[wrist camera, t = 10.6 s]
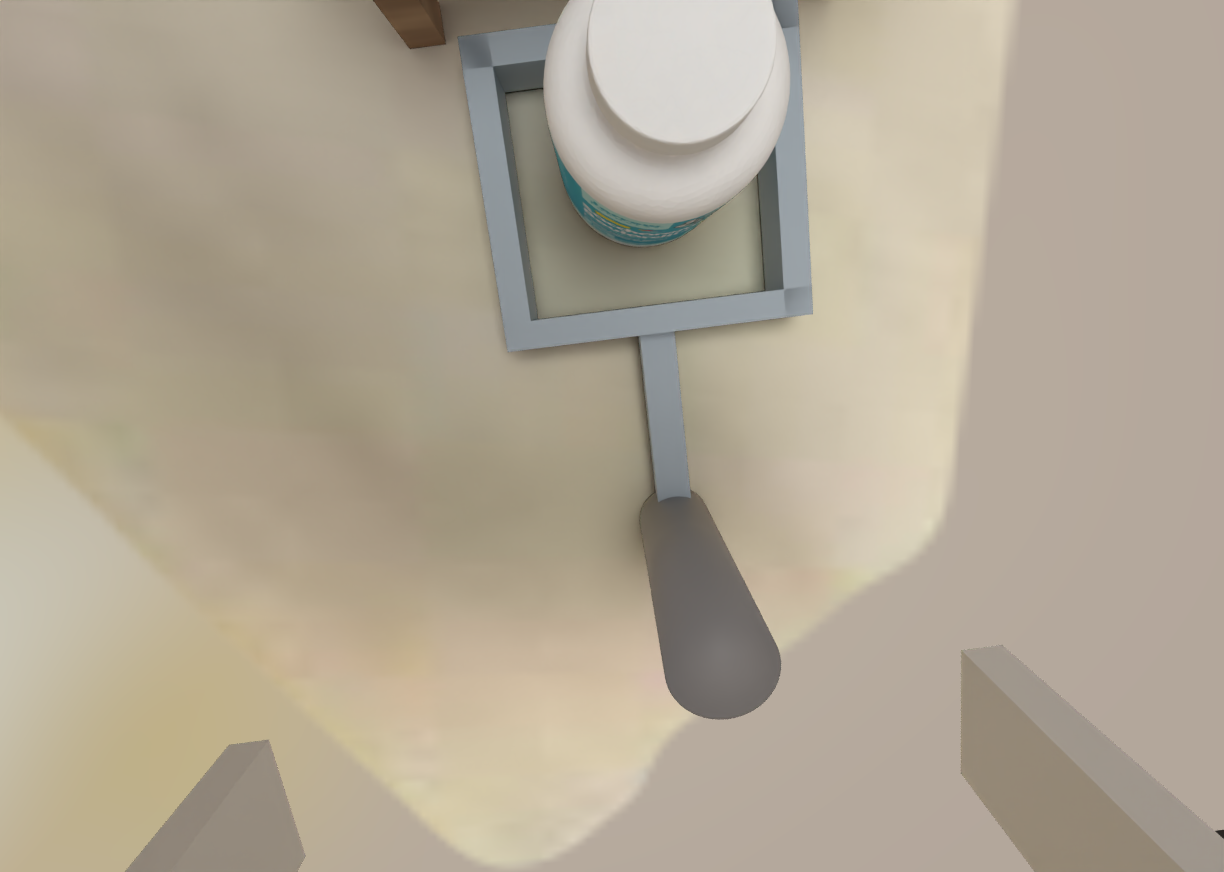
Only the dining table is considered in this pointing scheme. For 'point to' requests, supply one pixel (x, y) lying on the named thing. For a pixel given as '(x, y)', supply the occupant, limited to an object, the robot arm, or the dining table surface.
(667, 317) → the grey frame on stick
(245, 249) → the dining table surface
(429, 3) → the tunnel
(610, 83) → the pill bottle
